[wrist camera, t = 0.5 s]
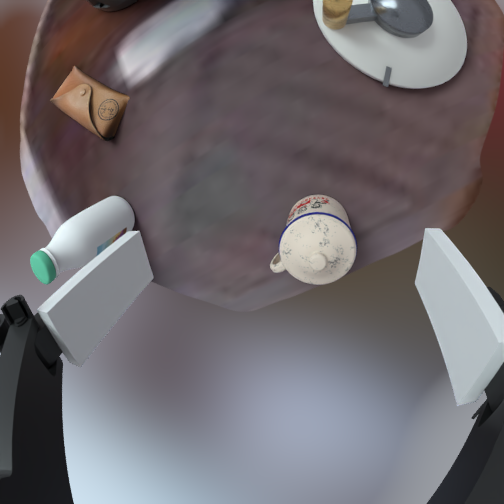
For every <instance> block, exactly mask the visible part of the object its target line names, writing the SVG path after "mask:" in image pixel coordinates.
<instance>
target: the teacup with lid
mask: <svg viewBox="0 0 504 504" xmlns="http://www.w3.org/2000/svg"><path fill="white" fill-rule="evenodd" d="M356 254H357V242H356V238H355V235H354V233H353V231H352V230H351V227H350V224H349V220H348V216H347V214H346V211H345V210H344V208H343V207H342V205H341V204H340V203H339V202H337V201H336V200H335V199H333V198H331V197H328V196H325V195H311V196H307V197H305V198H303V199H301V200H300V201H298V202H297V203H296V204H295V205H294V206H293V208H292V210H291V211H290V214H289V217H288V221H287V224H286V227H285V229H284V231H283V232H282V235H281V237H280V241H279V252H278V253H277V254H276V256H275V257H274V258H273V260H272V261H271V264H270V268H271V269H272V271H273V272H275V273H279V272H282V271H284V270H287V271H288V272H289V273H290V274H291V275H292V276H294V277H295V278H297V279H298V280H300V281H302V282H305V283H309V284H315V285H322V284H328V283H331V282H334V281H336V280H338V279H340V278H341V277H343V276H344V275H345V274H346V273H347V272H348V271H349V270H350V268H351V267H352V265H353V263H354V261H355V258H356Z"/></svg>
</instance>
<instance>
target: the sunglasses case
mask: <svg viewBox="0 0 504 504" xmlns="http://www.w3.org/2000/svg"><path fill="white" fill-rule="evenodd" d="M129 99H130V98H129V96H127V95H125V94H122V93H120V92H117V91H115V90H113V89H111V88H109V87H107V86H105V85H104V84H102V83H100V82H99V81H97V80H95V79H93V78H92V77H90V76H88V75H87V74H85V73H83V72H82V71H81V70H79V68H77V67H76V66H74V67H73V69H72V72H71V73H70V74H69V75H68V77H67V78H66V80H65V81H64V82H63V84H62V85H61V87H60V88H59V90H58V91H57V93H56V94H55V95H54V97H53V99H51V100H50V101H51V102H52V103H53V104H55V105H56V106H57V107H58V108H59V109H60V110H62V111H63V112H64V113H66V114H67V115H68V116H70V117H71V118H72V119H74V120H75V121H77V122H78V123H79V124H81V125H82V126H83V127H85V128H86V129H88V130H89V131H91V132H92V133H94V134H95V135H97V136H99V137H100V138H102V139H103V140H105V141H109V140H112V139H113V138H114V135H115V133H116V131H117V128H118V125H119V123H120V120H121V118H122V115H123V113H124V111H125V108H126V105H127V102H128V100H129Z"/></svg>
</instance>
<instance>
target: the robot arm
mask: <svg viewBox="0 0 504 504" xmlns="http://www.w3.org/2000/svg"><path fill="white" fill-rule="evenodd" d="M86 1H87V2H89V3H90V4H91V5H92V6H93V7H95V8H97V9H100V10H104V11H117V10H121V9H123V8H126V7H128V6H130V5H131V4H133V3H135V2H136V1H138V0H86ZM153 278H154V277H153V274H152V270H151V267H150V264H149V261H148V258H147V254H146V251H145V247H144V244H143V241H142V237H141V233H140V231H128V232H127V233H125V234H124V235H123V236H122V237H120V238H119V239H118V240H116V241H115V242H114V243H113V244H111V245H110V246H109V247H108V248H106V249H105V250H104V251H103V252H101V253H100V254H99V255H98V256H96V257H95V258H94V259H93V260H92V261H90V262H89V263H88V264H87V265H86V266H84V267H83V268H82V269H81V270H80V271H79V272H78V273H76V274H75V275H74V276H73V277H72V278H71V279H70V280H68V281H67V282H66V283H65V284H64V285H63V286H62V287H60V288H59V289H58V290H57V291H56V292H55V293H54V294H53V295H52V296H51V297H50V298H48V299H47V300H46V301H45V302H44V303H43V304H42V305H41V306H40V307H39V308H38V309H37V311H38V313H37V314H36V315H35V316H34V315H33V314H32V312H31V310H30V308H29V306H28V304H27V302H26V301H25V299H24V297H23V296H22V295H17V296H14V297H12V298H11V299H10V300H8V301H7V302H6V303H5V304H4V305H3V306H2V307H1V310H2V312H3V314H0V353H1V355H0V504H74V503H73V498H72V493H71V488H70V483H69V477H68V471H67V465H66V456H65V447H64V437H63V420H62V372H63V371H62V370H63V362H62V360H61V358H60V357H59V356H60V355H61V353H62V352H63V354H64V355H65V356H66V358H67V359H68V361H69V362H70V363H72V364H74V365H76V366H79V367H82V365H83V364H84V363H85V361H86V360H87V359H88V358H89V356H90V355H91V354H92V352H93V351H94V350H95V348H96V347H97V346H98V345H99V343H100V342H101V341H102V340H103V338H104V337H105V336H106V335H107V333H108V332H109V331H110V329H111V328H112V327H113V326H114V325H115V323H116V322H117V321H118V320H119V318H120V317H121V316H122V315H123V314H124V312H125V311H126V310H127V309H128V307H129V306H130V305H131V304H132V303H133V301H134V300H135V299H136V298H137V297H138V295H139V294H140V293H141V292H142V291H143V290H144V289H145V287H146V286H147V285H148V284H149V283H150V282H151V280H152V279H153ZM415 285H416V287H417V289H418V292H419V294H420V296H421V299H422V301H423V303H424V306H425V308H426V311H427V313H428V315H429V318H430V320H431V323H432V326H433V328H434V331H435V334H436V337H437V340H438V342H439V345H440V348H441V351H442V354H443V357H444V360H445V363H446V367H447V370H448V373H449V377H450V380H451V384H452V387H453V391H454V395H455V399H456V403H457V406H460V405H464V404H469V403H472V402H476V401H477V400H478V398H479V397H480V396H481V394H482V393H483V391H485V393H486V396H487V400H486V401H485V402H484V404H482V406H481V407H480V408H479V409H478V410H477V411H476V413H475V414H474V415H473V417H472V419H474V418H475V417H476V416H477V415H478V414H479V415H478V417H477V419H476V422H475V424H474V426H473V428H472V430H471V432H470V434H469V436H468V438H467V440H466V442H465V444H464V446H463V448H462V450H461V451H460V453H459V455H458V457H457V459H456V460H455V462H454V464H453V465H452V467H451V469H450V471H449V472H448V474H447V475H446V477H445V478H444V480H443V481H442V483H441V484H440V486H439V487H438V489H437V490H436V492H435V493H434V494H433V496H432V497H431V499H430V500H429V501H428V503H427V504H504V301H503V300H502V298H501V297H500V295H499V294H498V293H496V292H495V291H494V290H493V289H492V288H491V287H486V286H485V284H484V283H483V282H482V280H481V279H480V277H479V276H478V275H477V273H476V272H475V271H474V269H473V268H472V267H471V265H470V264H469V263H468V262H467V260H466V259H465V258H464V256H463V255H462V254H461V253H460V251H459V250H458V249H457V248H456V247H455V245H454V244H453V243H452V242H451V240H450V239H449V238H448V237H447V236H446V235H445V233H444V232H443V231H442V230H441V229H439V228H425V233H424V239H423V245H422V251H421V257H420V262H419V267H418V271H417V276H416V280H415Z"/></svg>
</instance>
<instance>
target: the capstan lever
mask: <svg viewBox="0 0 504 504" xmlns="http://www.w3.org/2000/svg"><path fill="white" fill-rule="evenodd" d="M352 2H353V0H323V7H322V21H323V23H324V24H325V25H326V26H327V27H328V28H331V29H335V30H337V29H341V28H343V27H344V26H345V25H347V24H353V23H360V22H368V21H375V22H376V23H377V24H378V25H379V26H380V27H381V28H382V29H384V30H385V31H387V32H388V33H390V34H392V35H395V36H398V37H402V38H414V37H417V36H419V35H420V34H421V33H423V32H424V31H426V30H427V29H428V28H429V27H430V26H431V25H432V23H433V11H432V8H431V6H430V4H429V3H428V1H427V0H368V3H366V4H357V5H352Z"/></svg>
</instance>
